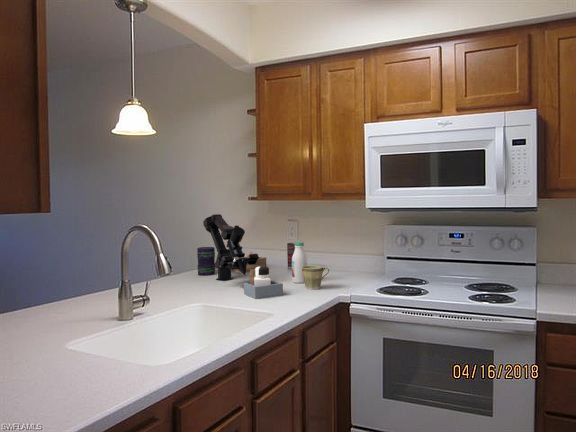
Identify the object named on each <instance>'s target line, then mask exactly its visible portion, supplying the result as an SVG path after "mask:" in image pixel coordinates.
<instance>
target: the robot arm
mask: <svg viewBox="0 0 576 432" xmlns="http://www.w3.org/2000/svg"><path fill="white" fill-rule="evenodd" d="M202 224H203V227H204V228H205V230H206V231H207V232H208V233H209V234H210V235H211V238H212V240H213V243H214V246H215V249H216V252H217V256H216V259H215V269H217V278H215V280H216V281H217V280H218V281H230V280H233V279H234V278H233V277H232V272H231V270H236V269H237V270H238V269H239V270H240V271H241V272H242V273H241V274H242V275H244V276H245V275H246V273H247V272H246V265H247V263H248V264H249V265H253V264H256V262H257V260H258V258H259V257H260V256H259V254H258V253H252V254H250V253H249V254H250V255H249V257H247V256H245V255H246V254H245V252H243V246H241V245H240V243H241V242H242V240H243V238H244V236H245V232H246V231H245V229H244V228H242V227H240V226H239V225H234V226H231V225H229V224H228V222H227V221H226V220H225V219H224V218H223V216H222V214H220V213H219V214H218V213H216V214H211V216H208V217H206V218H204V220H203V222H202ZM224 241H227V242H226V244H225V242H224Z"/></svg>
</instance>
